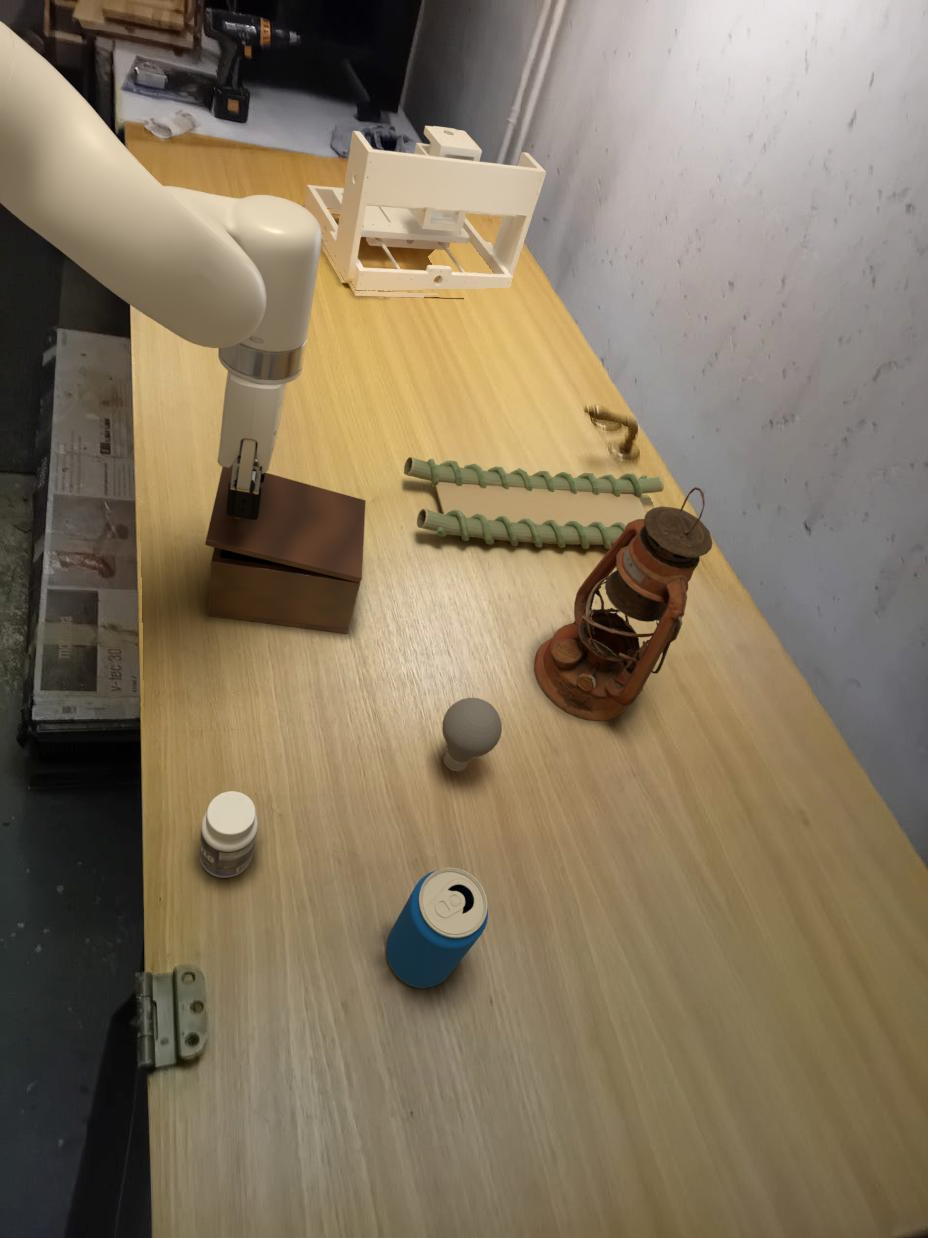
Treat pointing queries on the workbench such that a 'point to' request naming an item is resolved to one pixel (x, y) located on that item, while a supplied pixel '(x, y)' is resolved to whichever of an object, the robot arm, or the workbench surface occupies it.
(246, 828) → the pill bottle
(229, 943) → the workbench surface
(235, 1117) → the workbench surface
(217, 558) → the chest
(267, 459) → the robot arm
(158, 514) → the workbench surface
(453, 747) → the light bulb
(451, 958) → the beverage can
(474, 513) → the stretcher
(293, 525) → the lid
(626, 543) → the lantern
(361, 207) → the 3d printer
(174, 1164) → the workbench surface
